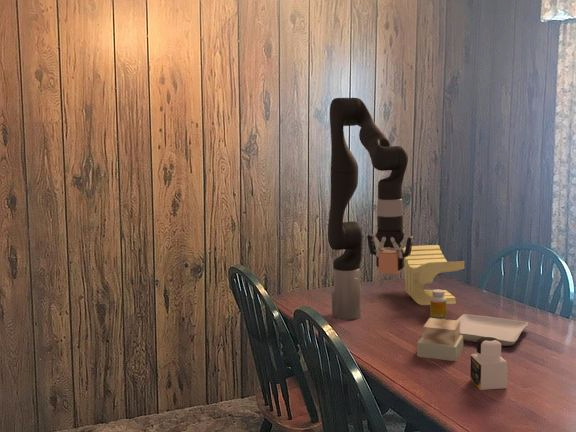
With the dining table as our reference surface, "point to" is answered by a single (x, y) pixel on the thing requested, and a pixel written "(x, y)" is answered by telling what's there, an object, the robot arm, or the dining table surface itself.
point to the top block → (441, 331)
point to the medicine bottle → (488, 365)
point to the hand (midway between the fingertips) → (390, 269)
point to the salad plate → (490, 328)
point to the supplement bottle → (438, 304)
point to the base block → (440, 350)
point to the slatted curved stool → (426, 272)
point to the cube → (388, 262)
